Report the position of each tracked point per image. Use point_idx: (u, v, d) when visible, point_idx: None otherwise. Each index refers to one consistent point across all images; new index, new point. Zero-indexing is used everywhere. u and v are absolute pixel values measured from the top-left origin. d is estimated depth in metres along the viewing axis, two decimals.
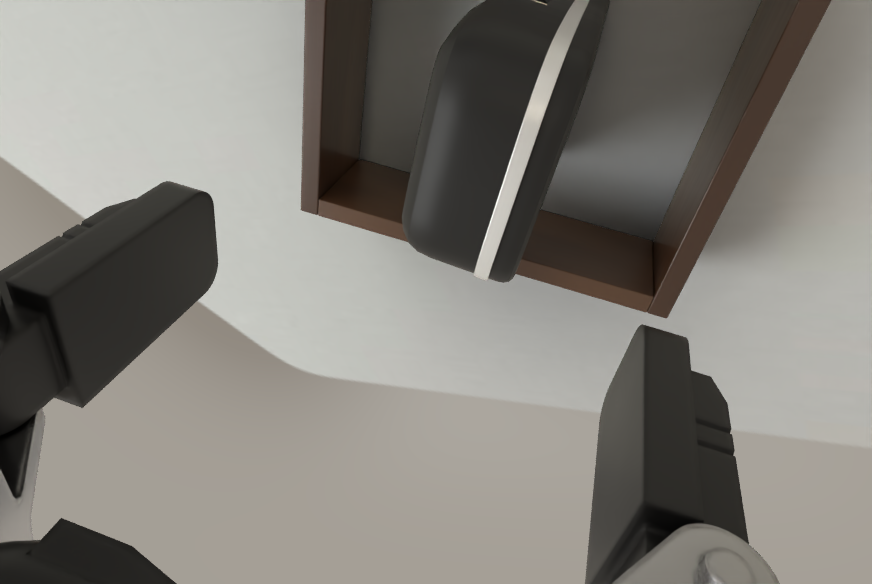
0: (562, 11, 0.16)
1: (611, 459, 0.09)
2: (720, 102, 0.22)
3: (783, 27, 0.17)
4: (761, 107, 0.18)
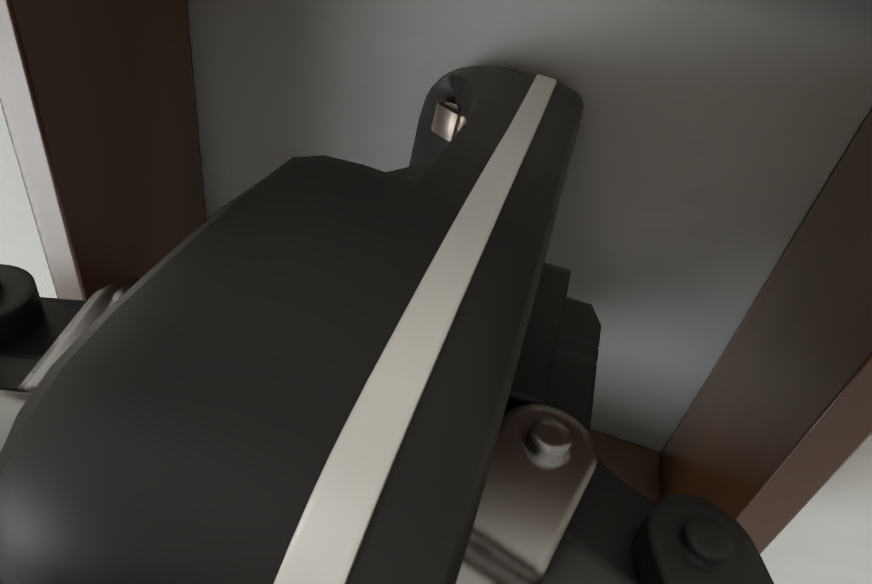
0: (450, 205, 0.07)
1: None
2: (783, 283, 0.12)
3: None
4: None
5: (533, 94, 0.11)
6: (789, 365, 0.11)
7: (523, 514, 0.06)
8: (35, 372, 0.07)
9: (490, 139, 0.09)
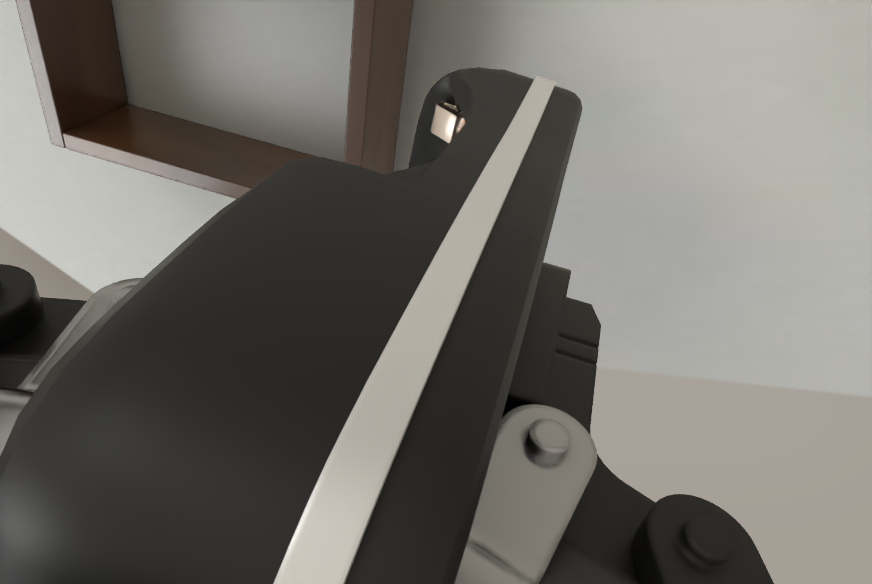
0: (449, 207, 0.07)
1: None
2: None
3: None
4: (362, 31, 0.21)
5: (532, 95, 0.11)
6: None
7: (523, 514, 0.06)
8: (35, 372, 0.07)
9: (489, 141, 0.09)
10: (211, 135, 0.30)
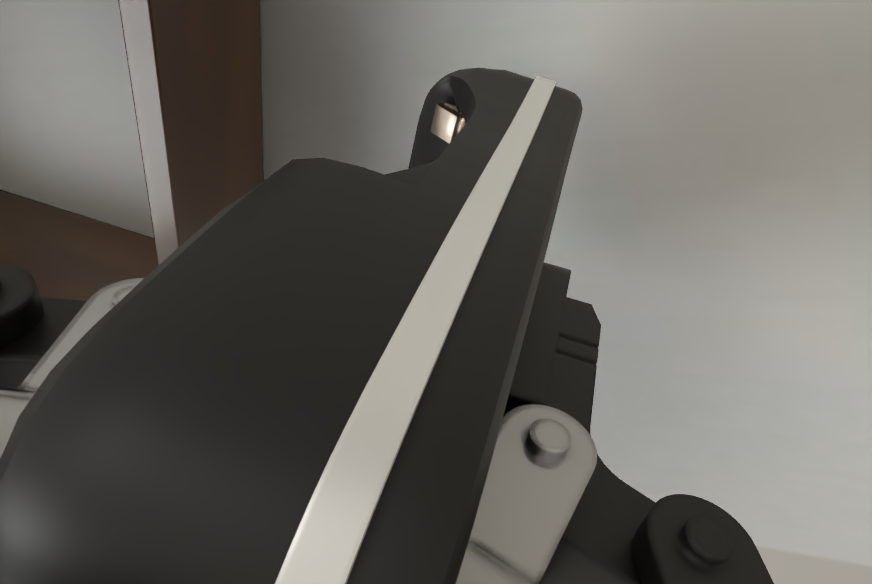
0: (449, 207, 0.07)
1: None
2: None
3: None
4: (148, 107, 0.14)
5: (532, 96, 0.11)
6: None
7: (522, 513, 0.06)
8: (35, 371, 0.07)
9: (489, 141, 0.09)
10: (30, 213, 0.23)
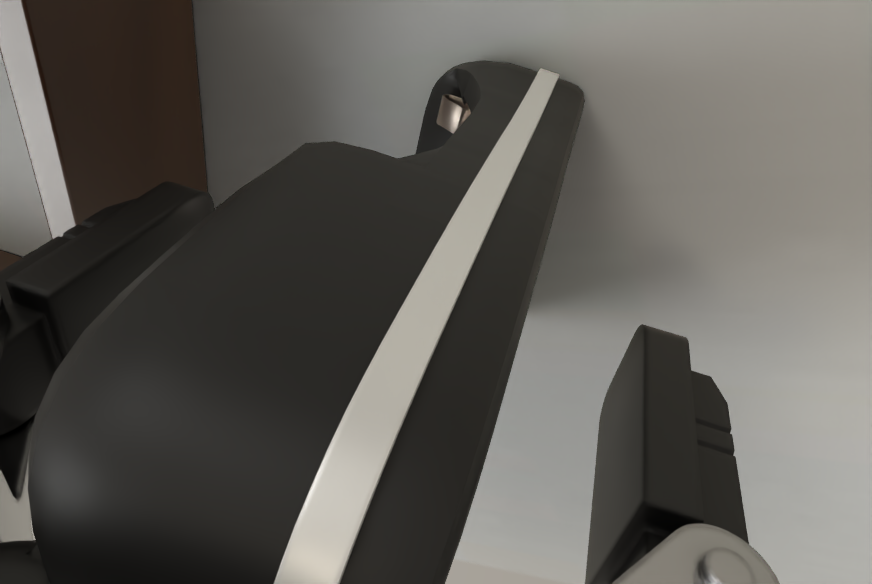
0: (457, 188, 0.07)
1: (611, 459, 0.09)
2: None
3: None
4: (43, 154, 0.12)
5: (536, 87, 0.11)
6: None
7: None
8: None
9: (494, 129, 0.09)
10: None
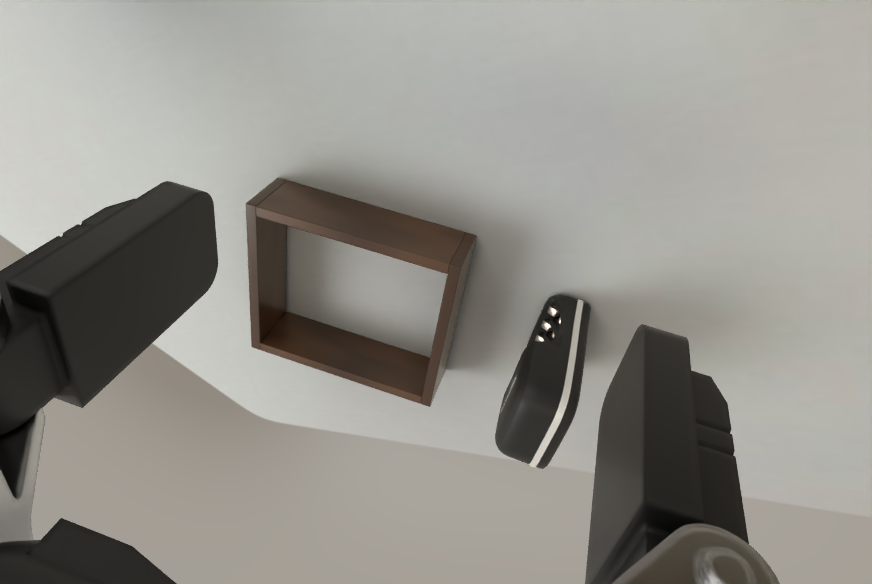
0: (567, 352, 0.38)
1: (611, 459, 0.09)
2: None
3: (443, 297, 0.41)
4: (442, 325, 0.42)
5: (577, 309, 0.42)
6: None
7: None
8: None
9: (570, 329, 0.40)
10: (339, 335, 0.51)
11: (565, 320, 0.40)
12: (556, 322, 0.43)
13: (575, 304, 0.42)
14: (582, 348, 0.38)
